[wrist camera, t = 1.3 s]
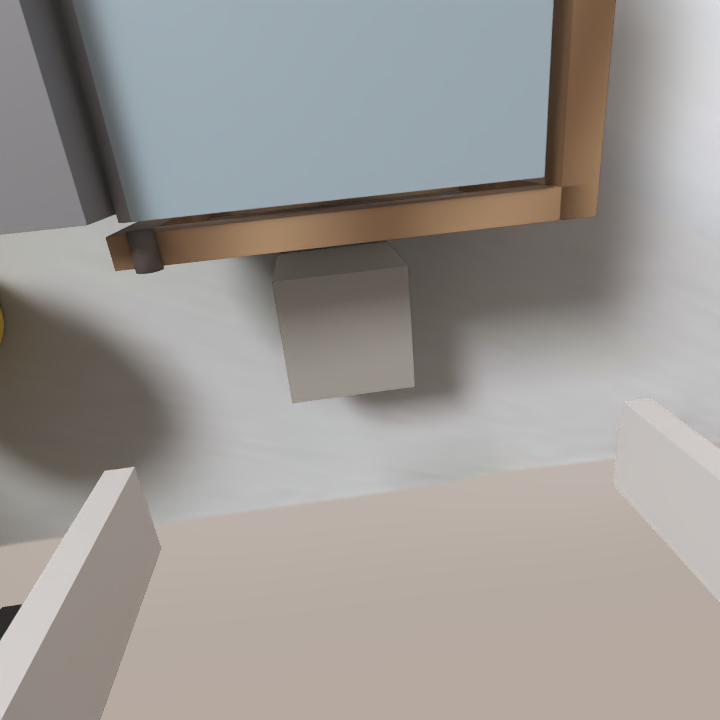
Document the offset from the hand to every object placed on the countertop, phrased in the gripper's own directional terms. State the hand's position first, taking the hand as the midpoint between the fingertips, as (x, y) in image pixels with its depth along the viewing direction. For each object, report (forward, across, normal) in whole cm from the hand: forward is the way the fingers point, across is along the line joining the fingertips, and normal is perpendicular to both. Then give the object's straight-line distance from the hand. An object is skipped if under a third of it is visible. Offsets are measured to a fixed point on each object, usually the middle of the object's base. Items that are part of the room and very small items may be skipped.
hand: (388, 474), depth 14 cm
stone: (+17, 0, 0) cm, 17 cm away
